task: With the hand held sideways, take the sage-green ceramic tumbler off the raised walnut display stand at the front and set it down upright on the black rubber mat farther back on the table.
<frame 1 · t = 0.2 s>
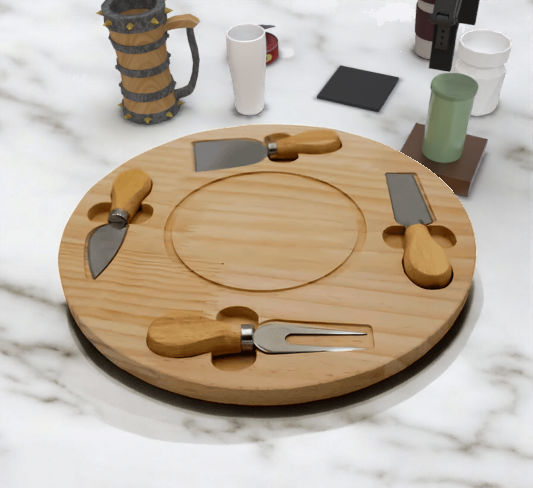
hand: (453, 45, 88), 23 cm above the worktop, tool pointing down, fingers open, 13 cm apart
mug: (163, 108, 121), on the worktop
vase: (472, 103, 119), on the worktop
drinking glass: (250, 109, 120), on the worktop
mat: (358, 88, 123), on the worktop
canned food: (254, 56, 134), on the worktop
display stand: (439, 165, 106), on the worktop
tumbler: (441, 150, 104), point 3 cm above the worktop, touching display stand
coffee cup: (432, 52, 133), on the worktop
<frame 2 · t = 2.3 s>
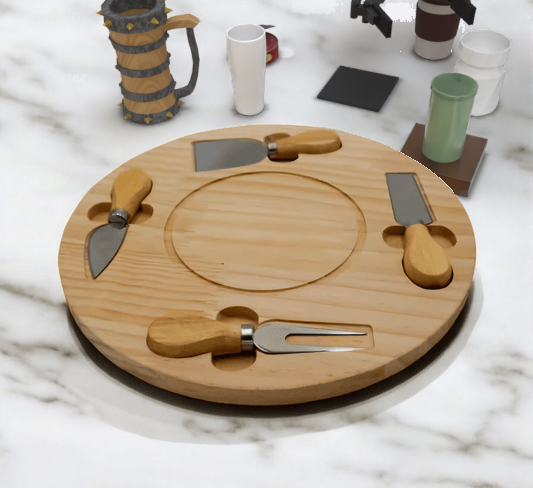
hand: (431, 23, 99), 20 cm above the worktop, tool horizontal, fingers open, 13 cm apart
nothing on the worktop moved.
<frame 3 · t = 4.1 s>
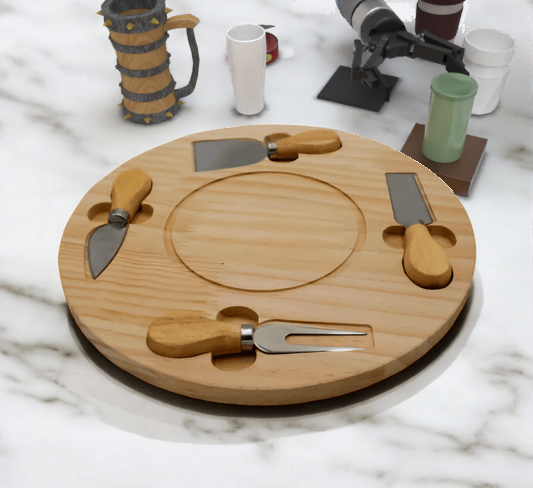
hand: (427, 87, 104), 10 cm above the worktop, tool horizontal, fingers open, 13 cm apart
vase: (472, 102, 119), on the worktop, touching gripper
everything else where it was.
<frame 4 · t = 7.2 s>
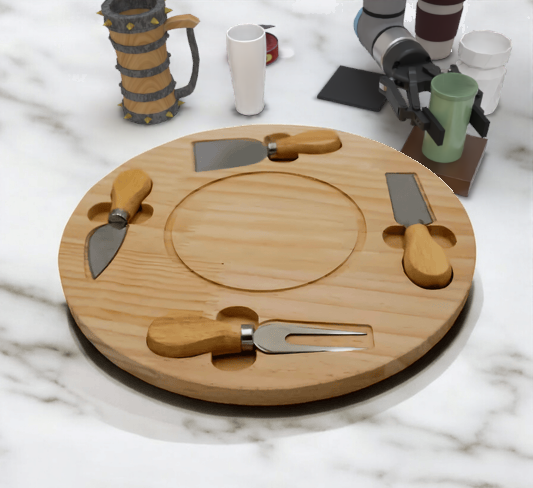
hand: (463, 133, 96), 10 cm above the worktop, tool horizontal, fingers closed on tumbler, 6 cm apart
vase: (472, 104, 119), on the worktop
tumbler: (441, 150, 104), point 3 cm above the worktop, touching display stand, gripper
everything else where it was.
when the fingers open (7 cm above the worktop, at t = 16.5 s): tumbler stays where it is, resting on mat.
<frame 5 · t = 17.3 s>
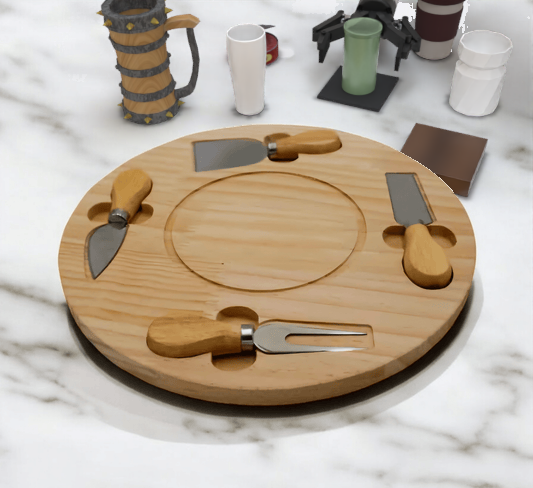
hand: (358, 60, 116), 8 cm above the worktop, tool horizontal, fingers open, 13 cm apart
tumbler: (358, 86, 123), point 1 cm above the worktop, touching mat
everything else where it was.
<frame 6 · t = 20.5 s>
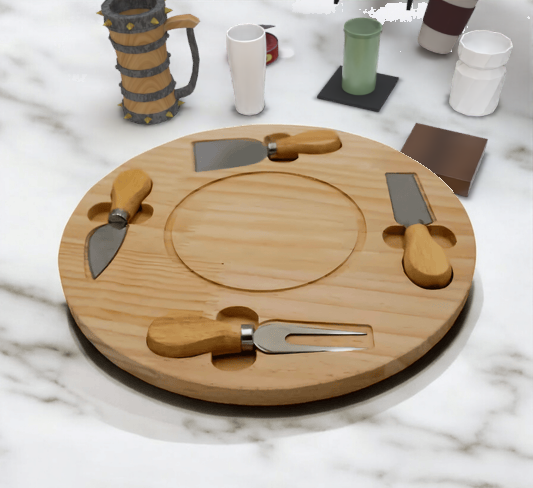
hand: (371, 0, 121), 13 cm above the worktop, tool horizontal, fingers open, 13 cm apart
coffee cup: (432, 47, 132), point 1 cm above the worktop
everything else where it was.
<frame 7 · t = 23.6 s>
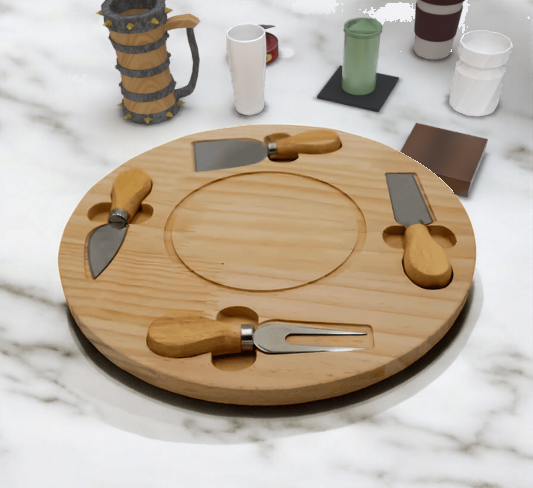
coffee cup: (431, 52, 133), on the worktop
everything else where it was.
at the end: tumbler inside the target area on the mat (0.1 cm from its centre), point 0.6 cm above the mat's base; tumbler tilted 0°; the gripper is holding nothing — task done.
